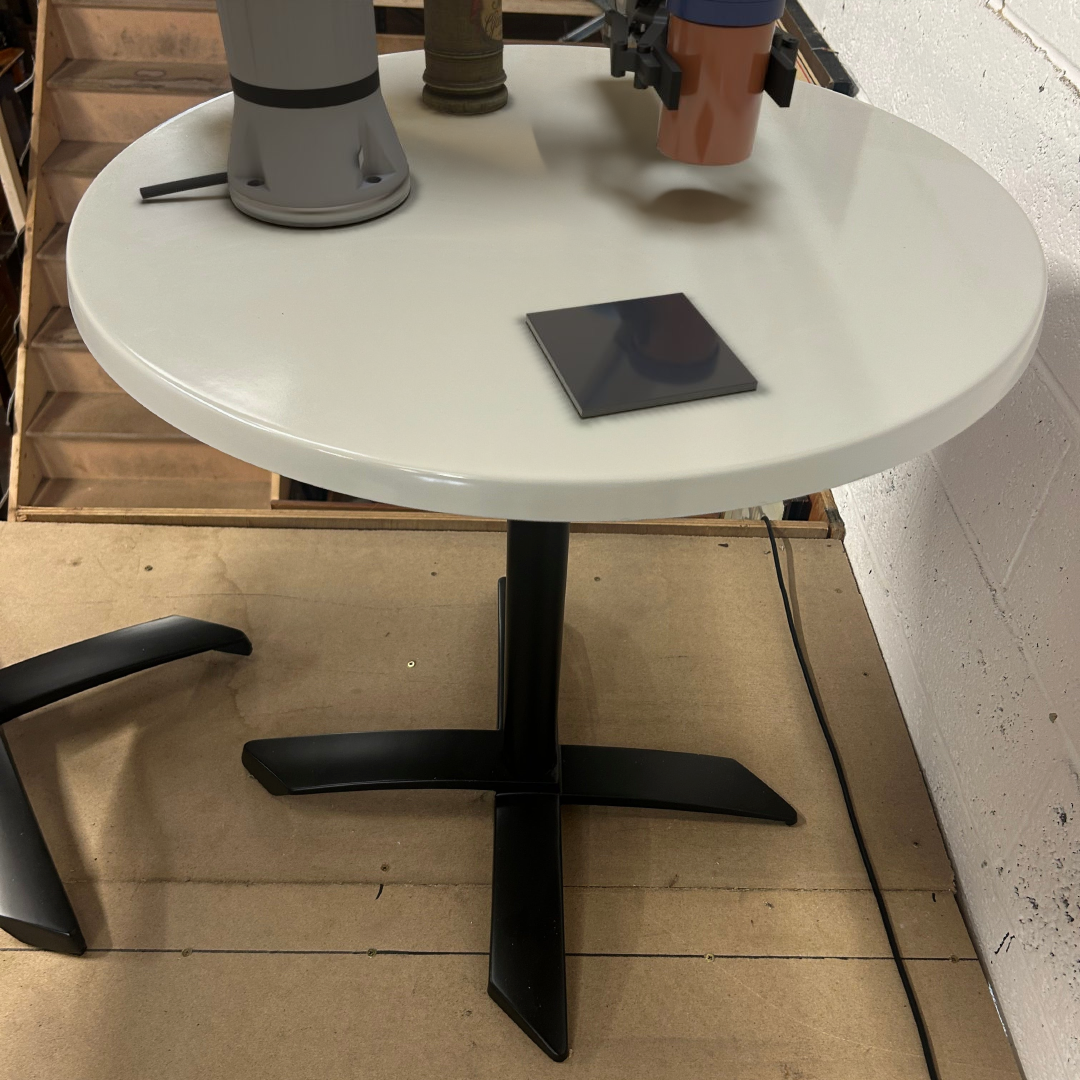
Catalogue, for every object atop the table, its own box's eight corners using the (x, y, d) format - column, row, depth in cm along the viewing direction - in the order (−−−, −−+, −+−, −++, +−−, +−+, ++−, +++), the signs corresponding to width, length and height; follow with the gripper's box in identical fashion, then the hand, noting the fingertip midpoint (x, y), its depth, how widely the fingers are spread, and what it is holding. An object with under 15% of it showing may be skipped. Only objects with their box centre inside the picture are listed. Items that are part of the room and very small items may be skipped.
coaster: (581, 418, 56) (582, 410, 56) (525, 320, 64) (525, 313, 64) (756, 389, 59) (758, 381, 59) (681, 299, 67) (682, 291, 67)
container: (420, 114, 93) (407, -98, 81) (425, 85, 100) (414, -116, 87) (508, 116, 93) (509, -96, 81) (507, 87, 100) (508, -113, 88)
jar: (668, 167, 73) (687, 3, 65) (647, 130, 78) (662, -25, 70) (765, 164, 73) (796, 2, 65) (737, 128, 79) (762, -26, 71)
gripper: (764, 49, 88) (852, 137, 72) (551, 53, 86) (591, 145, 70) (780, -41, 83) (878, 32, 67) (553, -40, 81) (598, 36, 65)
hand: (732, 90), depth 68 cm, fingers closed on jar, 8 cm apart
